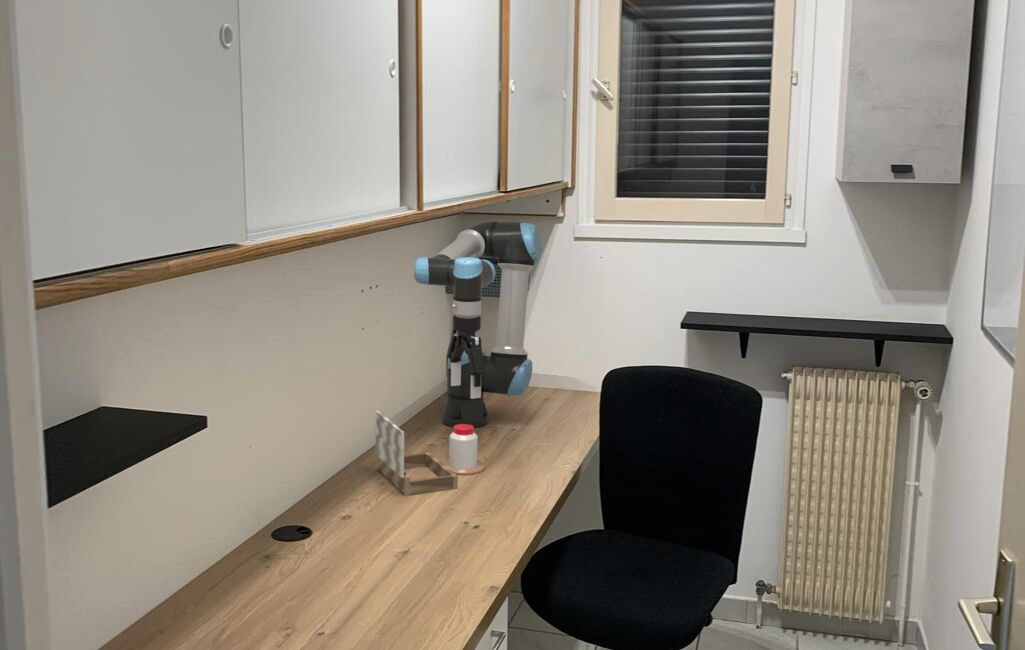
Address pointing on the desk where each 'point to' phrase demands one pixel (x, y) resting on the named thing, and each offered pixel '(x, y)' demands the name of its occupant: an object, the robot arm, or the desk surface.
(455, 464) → the pill bottle
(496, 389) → the robot arm
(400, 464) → the frame
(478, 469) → the saucer
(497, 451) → the desk surface
